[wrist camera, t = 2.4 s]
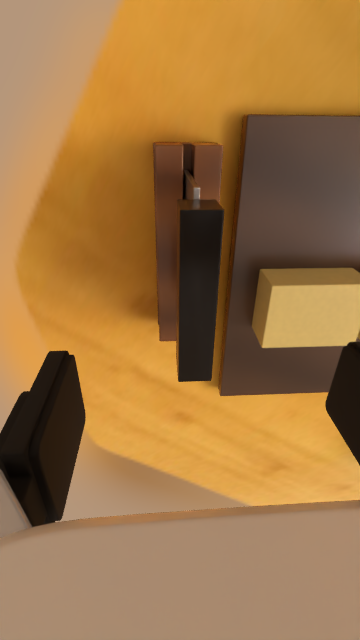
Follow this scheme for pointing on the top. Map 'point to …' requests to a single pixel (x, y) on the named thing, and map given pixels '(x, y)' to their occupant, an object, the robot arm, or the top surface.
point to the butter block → (307, 307)
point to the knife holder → (168, 189)
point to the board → (288, 239)
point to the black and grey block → (197, 280)
